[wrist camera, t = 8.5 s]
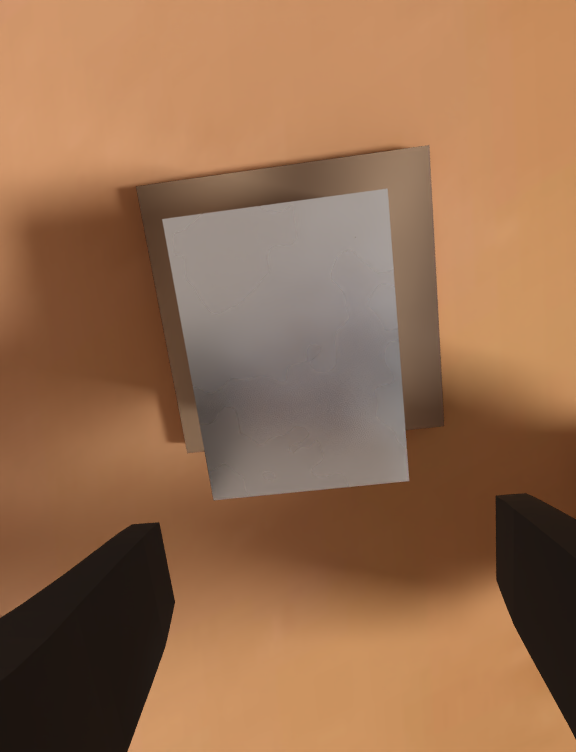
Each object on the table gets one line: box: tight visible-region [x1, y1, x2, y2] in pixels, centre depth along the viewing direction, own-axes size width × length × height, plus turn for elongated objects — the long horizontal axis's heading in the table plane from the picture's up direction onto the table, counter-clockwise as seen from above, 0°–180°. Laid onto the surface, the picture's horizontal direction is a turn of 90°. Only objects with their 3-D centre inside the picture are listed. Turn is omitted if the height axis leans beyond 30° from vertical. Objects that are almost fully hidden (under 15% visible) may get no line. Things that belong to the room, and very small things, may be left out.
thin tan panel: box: [136, 145, 444, 453], centre depth 18 cm, size 10×10×4 cm
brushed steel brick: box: [162, 189, 409, 500], centre depth 16 cm, size 5×7×7 cm
